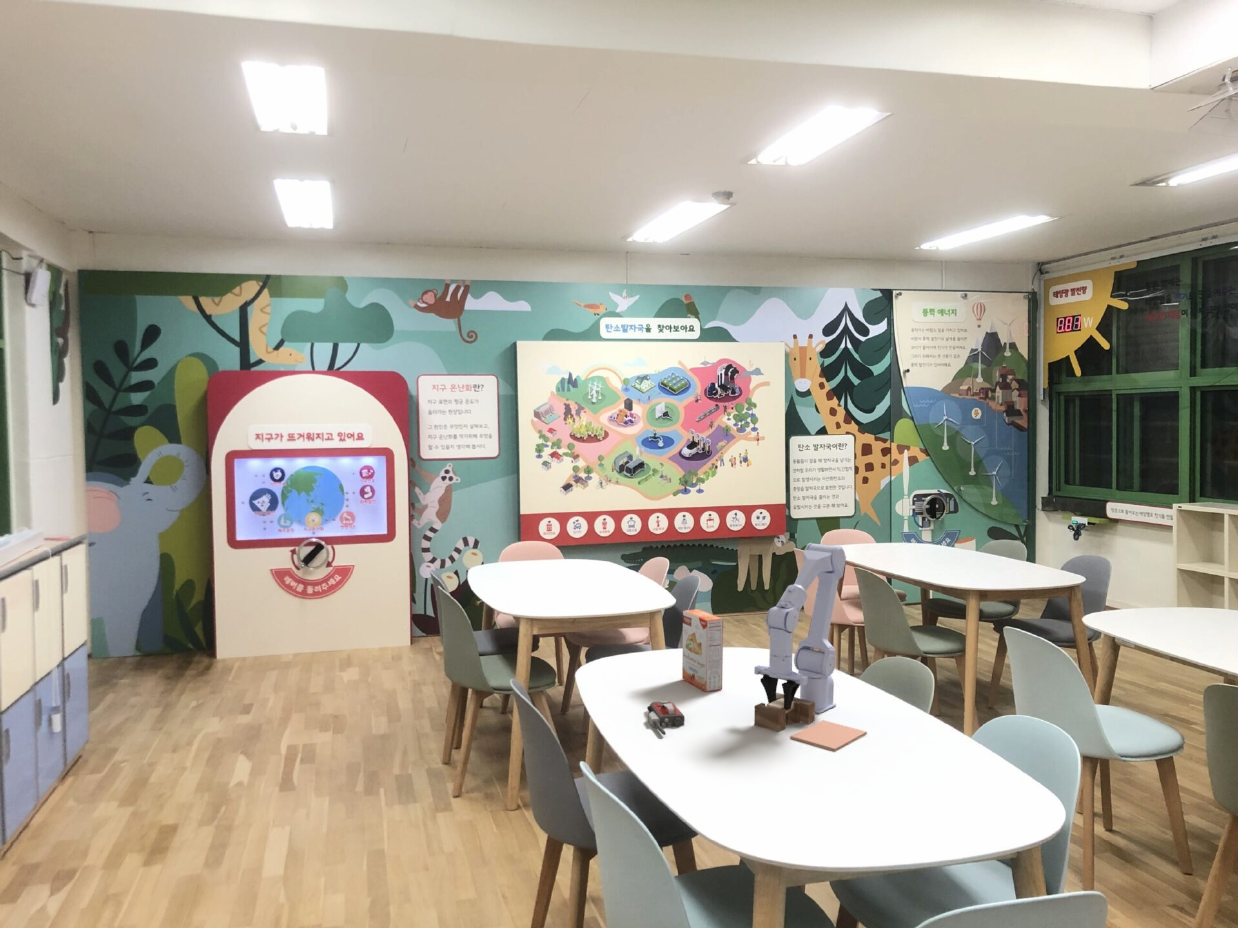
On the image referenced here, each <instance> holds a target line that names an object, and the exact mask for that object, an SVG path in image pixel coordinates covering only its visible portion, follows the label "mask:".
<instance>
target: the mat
mask: <svg viewBox="0 0 1238 928" xmlns="http://www.w3.org/2000/svg"><path fill="white" fill-rule="evenodd" d="M865 734H866V735H867V734H868V731H866V730H862V729H858V728H854V727H851V726H847V725H843V724H840V723H836V722H831V721H828V720H824V719H823V720H821V721H819V722H816V723H814V724H812V725H810V726H807V727H806V728H804V729H802V730H800V731H798V732H796V733H794V734H791V735H790V737H789V739H791V740H795V741H798V742H801V743H806V744H808V745H811V746H815V747H818V748H819V747H820V748H822V749H825V748H826V749H825V750H829V751H832V752H836V750H837V751H838V750H840V749H842V748H844V747H845V745H846V746H848V745H849V744H851V743H854V742H855V741H857V740H859V739H860V737H861V738H862V737H864V736H866V735H865ZM858 738H859V739H858Z"/></svg>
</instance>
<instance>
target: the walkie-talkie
mask: <svg viewBox="0 0 1238 928" xmlns="http://www.w3.org/2000/svg"><path fill="white" fill-rule="evenodd" d="M646 709H647V711H648V712H649V713H648V715H647V716H648V717H647V719H648V720H647V722H648V723H649V724H650V726H651V727H652V728H653V727H654V728H655V727H656V729H657V730H658V731H659V732H660V733H661V735H663V736H665V735H666V731H665V729H664V728H665V727H675V726H676V727H680V726H681V727H682V726H685V721H686V720H685V715H684V713H683V712H681V710H680V709H679V708H678V707H677V706H676V705H675V703H673V702H671V701H669V700H666V701H665V700H664V701H652V702H651V703H650V704H649V705H648V706H647V708H646Z"/></svg>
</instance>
